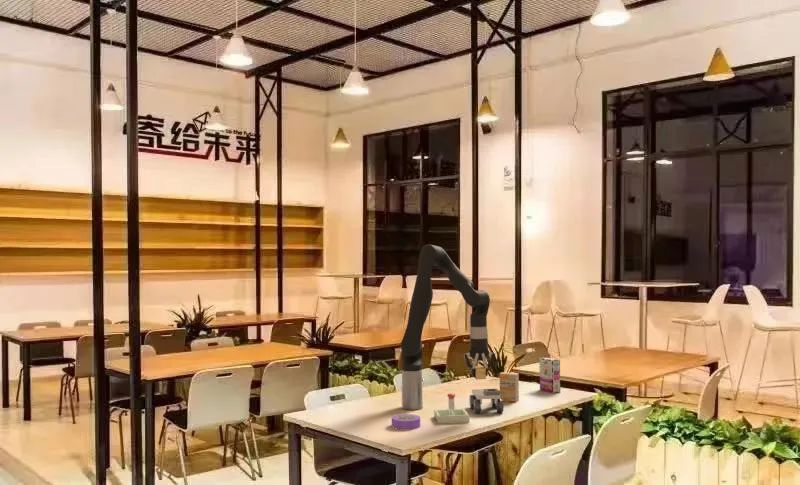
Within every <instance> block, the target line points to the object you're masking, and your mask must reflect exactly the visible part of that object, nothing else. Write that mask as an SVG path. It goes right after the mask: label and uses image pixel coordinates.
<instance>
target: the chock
mask: <svg viewBox="0 0 800 485" xmlns="http://www.w3.org/2000/svg"><path fill="white" fill-rule="evenodd" d="M475 370H476V378H475V379H476V380H487V376H486V368H484V365H483V366H479V365H478V366H477V365H476V366H475Z"/></svg>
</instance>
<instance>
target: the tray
mask: <svg viewBox="0 0 800 485" xmlns="http://www.w3.org/2000/svg"><path fill="white" fill-rule="evenodd" d="M433 413H434V414H433V417H434V419H435V421H436V422H437V424H439V425H440V424H465V423H466V424H467V423H468V424H469V423H470V415H469V413H468V412H467V411H466V409H465V408H454V415H449V408H448V409H434V410H433Z"/></svg>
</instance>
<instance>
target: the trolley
mask: <svg viewBox="0 0 800 485" xmlns="http://www.w3.org/2000/svg"><path fill="white" fill-rule="evenodd" d="M468 400H469V402H468V403H469V406H470V409H473V410H474V414H476V415H477V414H481V411H482V410H481V409H482V407H481V406H482V405H483V400H490V404H491V407H492V409H493V408H495V409H496V413H500V414H501V413H504V401H503V400H502V399H501V395H500V389H498V388H482V389H478V388H477V389H476V388H475V389H471V394H469V399H468Z"/></svg>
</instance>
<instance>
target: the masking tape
mask: <svg viewBox="0 0 800 485" xmlns="http://www.w3.org/2000/svg"><path fill="white" fill-rule="evenodd" d="M391 427H394V428H393V429H395V428H397V429H396V430H400V429H411V430H415V429H419V428H420V427H421V416H420V415H417V414H412V413H411V414H410V413H400V414H396V415H393V416H391Z"/></svg>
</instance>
